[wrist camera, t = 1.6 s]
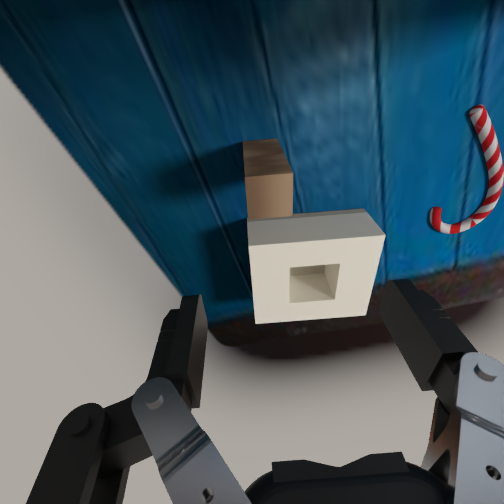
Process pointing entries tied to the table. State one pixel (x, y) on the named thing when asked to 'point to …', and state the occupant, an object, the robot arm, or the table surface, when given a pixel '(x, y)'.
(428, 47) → the table surface
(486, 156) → the candy cane
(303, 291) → the socket block
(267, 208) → the peg
